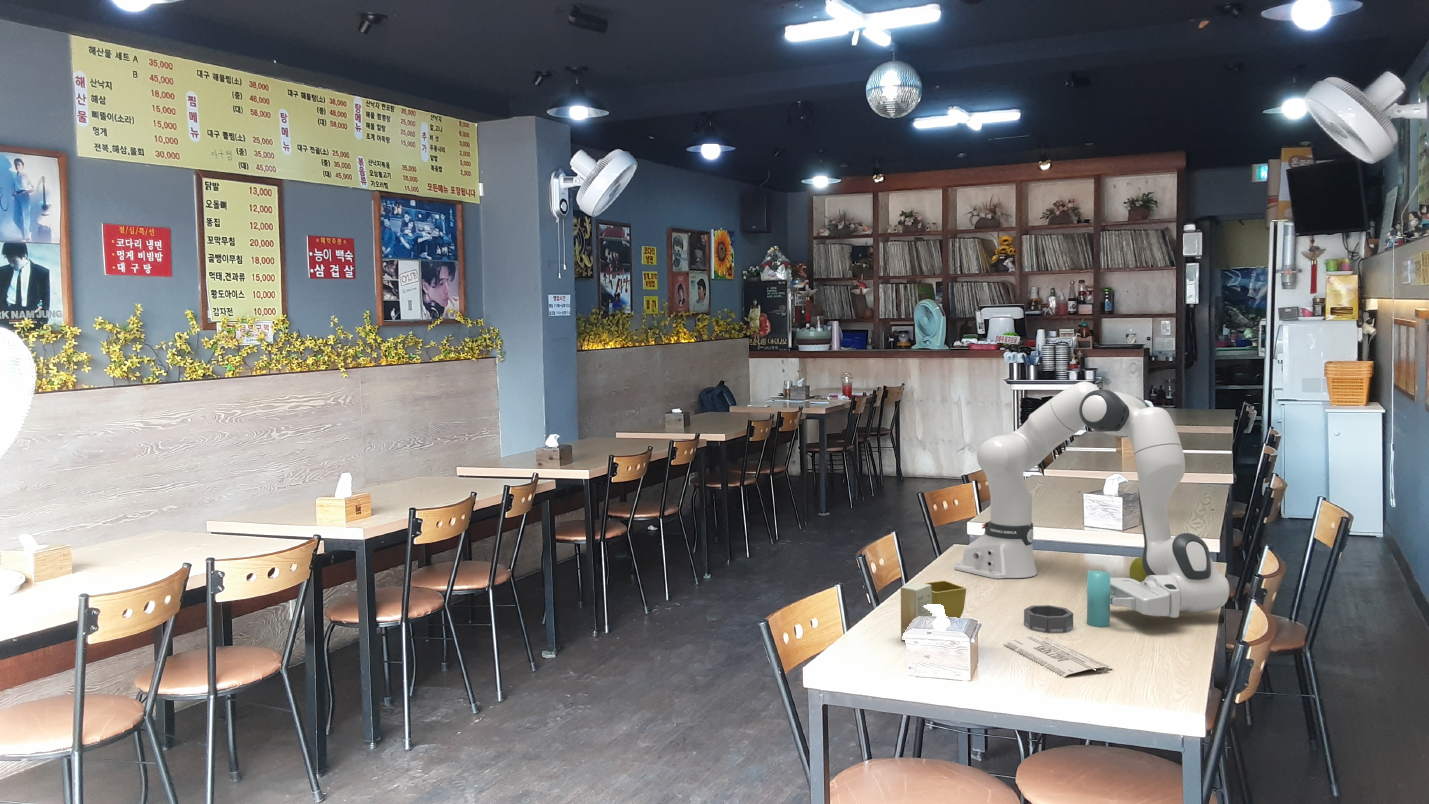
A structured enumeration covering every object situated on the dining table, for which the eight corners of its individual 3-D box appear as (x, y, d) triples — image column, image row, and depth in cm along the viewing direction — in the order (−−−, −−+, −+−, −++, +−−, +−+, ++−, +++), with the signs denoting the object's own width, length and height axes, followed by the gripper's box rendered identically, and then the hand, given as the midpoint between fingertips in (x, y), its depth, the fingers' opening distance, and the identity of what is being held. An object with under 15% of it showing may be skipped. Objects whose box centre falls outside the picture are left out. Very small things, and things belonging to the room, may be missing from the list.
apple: (1128, 578, 278) (1141, 545, 275) (1159, 591, 274) (1171, 557, 271) (1121, 585, 271) (1133, 550, 269) (1151, 598, 267) (1164, 563, 265)
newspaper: (1117, 674, 209) (1116, 662, 208) (1064, 687, 205) (1064, 675, 205) (1049, 641, 230) (1048, 630, 230) (1001, 652, 227) (1000, 641, 227)
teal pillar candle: (1083, 624, 241) (1083, 573, 240) (1091, 619, 244) (1092, 569, 243) (1104, 628, 237) (1105, 576, 236) (1113, 623, 241) (1113, 572, 240)
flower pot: (913, 621, 245) (913, 583, 244) (944, 616, 248) (944, 579, 248) (935, 631, 237) (935, 592, 236) (967, 626, 240) (967, 588, 240)
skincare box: (916, 634, 235) (916, 581, 234) (932, 638, 232) (932, 584, 231) (899, 640, 230) (899, 586, 229) (915, 644, 227) (916, 589, 226)
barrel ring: (1016, 627, 239) (1017, 612, 239) (1036, 617, 247) (1036, 602, 247) (1060, 635, 232) (1060, 620, 232) (1079, 625, 240) (1079, 610, 240)
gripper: (1136, 570, 252) (1081, 572, 251) (1182, 591, 232) (1123, 594, 230) (1135, 595, 253) (1081, 598, 251) (1182, 619, 232) (1123, 622, 231)
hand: (1101, 596), depth 241 cm, fingers open, 8 cm apart
